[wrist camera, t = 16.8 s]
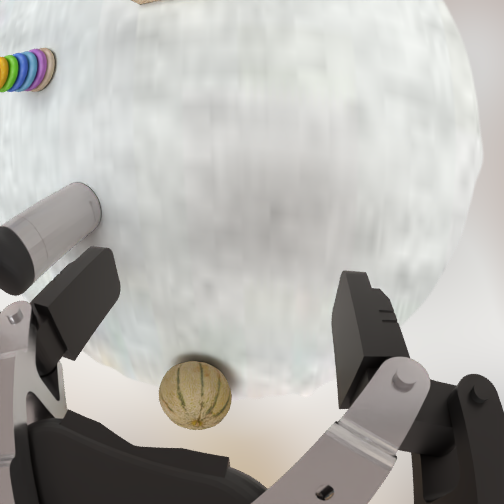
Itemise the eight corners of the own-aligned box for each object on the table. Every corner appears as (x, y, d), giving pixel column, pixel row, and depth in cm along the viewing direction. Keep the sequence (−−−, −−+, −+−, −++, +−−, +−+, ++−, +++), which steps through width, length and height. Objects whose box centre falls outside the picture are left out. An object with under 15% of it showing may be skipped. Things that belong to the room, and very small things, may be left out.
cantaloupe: (160, 364, 61) (137, 416, 48) (192, 336, 55) (168, 398, 42) (212, 395, 64) (198, 447, 51) (250, 372, 58) (240, 434, 45)
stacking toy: (25, 89, 33) (-56, 108, 17) (34, 48, 29) (-48, 55, 13) (51, 93, 34) (-38, 111, 18) (61, 48, 30) (-28, 50, 14)
